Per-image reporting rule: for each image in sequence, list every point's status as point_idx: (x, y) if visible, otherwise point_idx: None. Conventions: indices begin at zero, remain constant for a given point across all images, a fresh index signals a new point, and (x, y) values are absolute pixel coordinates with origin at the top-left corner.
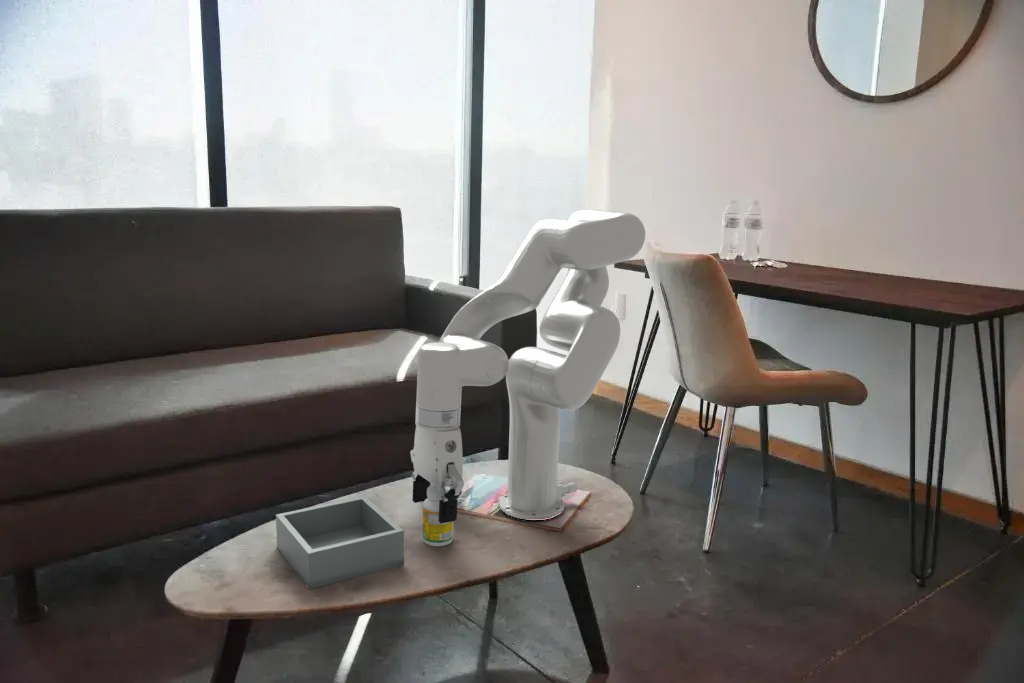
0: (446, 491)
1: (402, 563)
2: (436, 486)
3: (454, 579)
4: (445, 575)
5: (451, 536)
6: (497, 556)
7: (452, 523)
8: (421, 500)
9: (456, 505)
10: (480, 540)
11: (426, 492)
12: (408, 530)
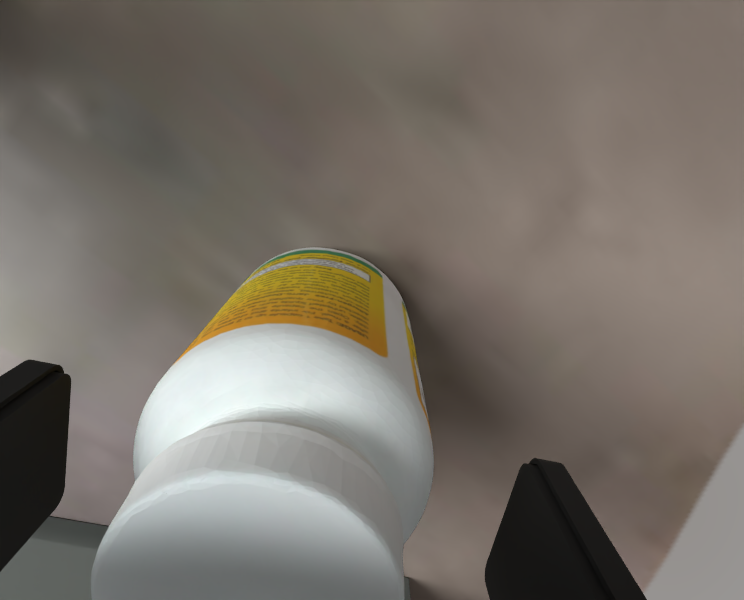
0: (384, 587)
1: (406, 586)
2: (157, 579)
3: (673, 512)
4: (618, 517)
5: (407, 315)
6: (714, 212)
7: (405, 334)
8: (61, 449)
9: (617, 567)
10: (501, 140)
11: (14, 444)
12: (116, 369)
